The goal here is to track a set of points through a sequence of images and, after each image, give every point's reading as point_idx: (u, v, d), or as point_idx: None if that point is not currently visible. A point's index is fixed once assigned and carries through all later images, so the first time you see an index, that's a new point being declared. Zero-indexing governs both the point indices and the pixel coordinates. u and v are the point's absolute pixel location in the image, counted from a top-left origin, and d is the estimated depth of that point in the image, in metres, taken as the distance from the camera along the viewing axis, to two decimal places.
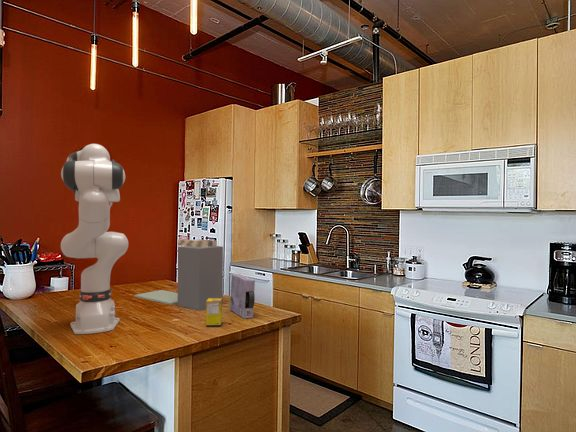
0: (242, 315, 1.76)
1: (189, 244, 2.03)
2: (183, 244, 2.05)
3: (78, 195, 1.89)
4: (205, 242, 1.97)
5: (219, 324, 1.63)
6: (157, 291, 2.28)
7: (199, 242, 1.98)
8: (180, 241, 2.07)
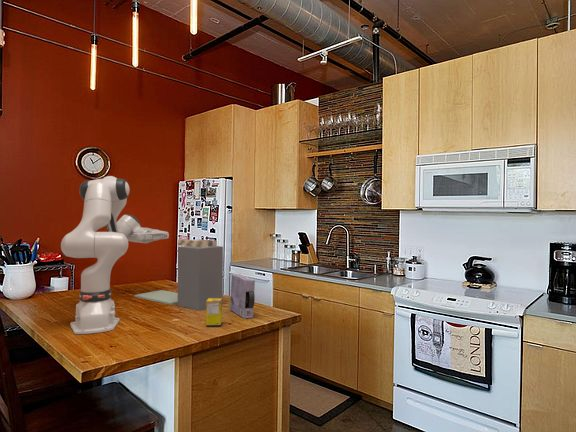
0: (242, 315, 1.76)
1: (189, 244, 2.03)
2: (183, 244, 2.05)
3: (138, 233, 2.12)
4: (205, 242, 1.97)
5: (219, 324, 1.63)
6: (157, 291, 2.28)
7: (199, 242, 1.98)
8: (180, 241, 2.07)
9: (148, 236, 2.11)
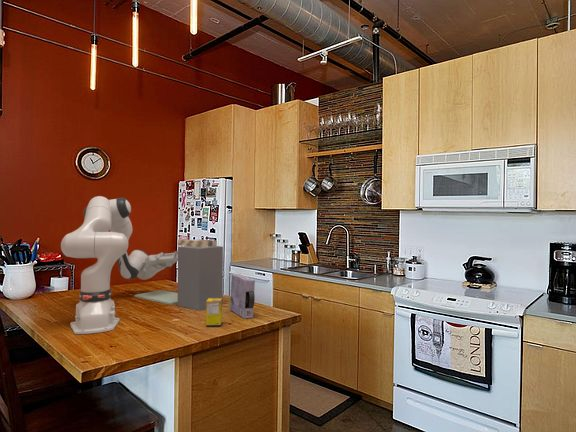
0: (242, 315, 1.76)
1: (189, 244, 2.03)
2: (183, 244, 2.05)
3: None
4: (205, 242, 1.97)
5: (219, 324, 1.63)
6: (157, 291, 2.28)
7: (199, 242, 1.98)
8: (180, 241, 2.07)
9: (159, 255, 2.10)
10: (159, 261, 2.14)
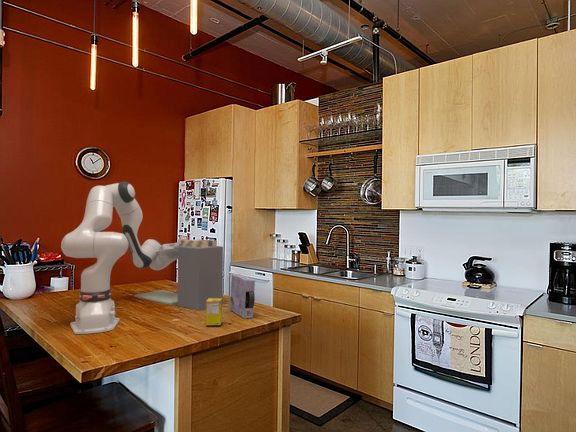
0: (242, 315, 1.76)
1: (189, 244, 2.02)
2: (183, 244, 2.05)
3: None
4: (205, 242, 1.97)
5: (219, 324, 1.63)
6: (157, 291, 2.28)
7: (199, 242, 1.98)
8: None
9: (177, 243, 2.05)
10: (173, 250, 2.07)
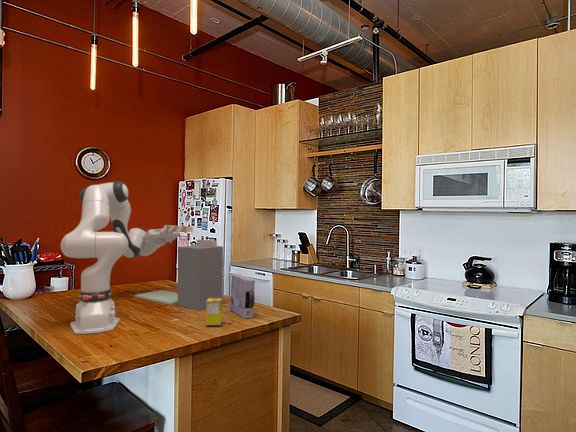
0: (242, 315, 1.76)
1: (174, 230, 2.09)
2: (169, 230, 2.12)
3: None
4: (189, 227, 2.04)
5: (219, 324, 1.63)
6: (157, 291, 2.28)
7: (184, 227, 2.05)
8: None
9: (163, 229, 2.12)
10: (159, 236, 2.14)
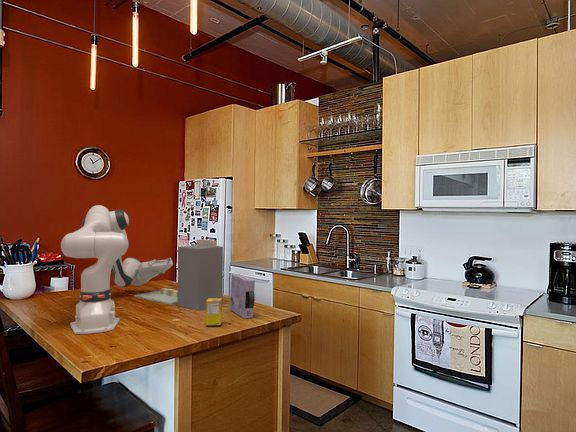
0: (242, 315, 1.76)
1: (171, 290, 2.17)
2: (166, 289, 2.19)
3: None
4: None
5: (219, 324, 1.63)
6: (157, 291, 2.28)
7: None
8: (165, 288, 2.22)
9: (152, 262, 2.14)
10: (152, 268, 2.18)
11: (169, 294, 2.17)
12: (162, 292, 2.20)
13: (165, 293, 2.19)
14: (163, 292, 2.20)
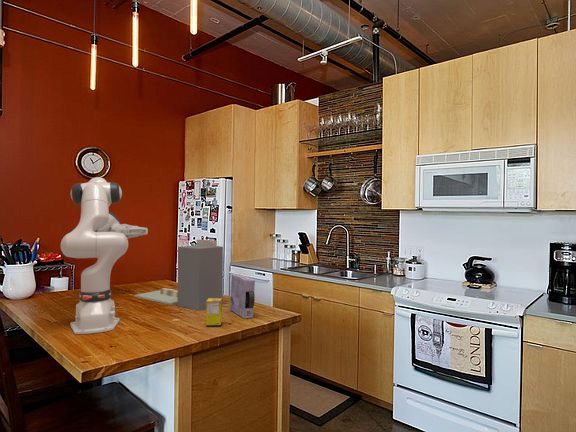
0: (242, 315, 1.76)
1: (171, 290, 2.17)
2: (166, 289, 2.19)
3: None
4: None
5: (219, 324, 1.63)
6: (157, 291, 2.28)
7: None
8: (165, 288, 2.22)
9: (125, 231, 2.10)
10: (125, 235, 2.15)
11: (169, 294, 2.17)
12: (162, 292, 2.20)
13: (165, 293, 2.19)
14: (163, 292, 2.20)
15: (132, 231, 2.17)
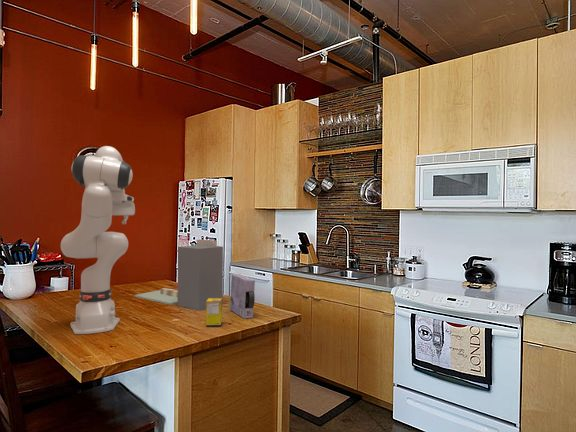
0: (242, 315, 1.76)
1: (171, 290, 2.17)
2: (166, 289, 2.19)
3: None
4: None
5: (219, 324, 1.63)
6: (157, 291, 2.28)
7: None
8: (165, 288, 2.22)
9: None
10: None
11: (169, 294, 2.17)
12: (162, 292, 2.20)
13: (165, 293, 2.19)
14: (163, 292, 2.20)
15: None
